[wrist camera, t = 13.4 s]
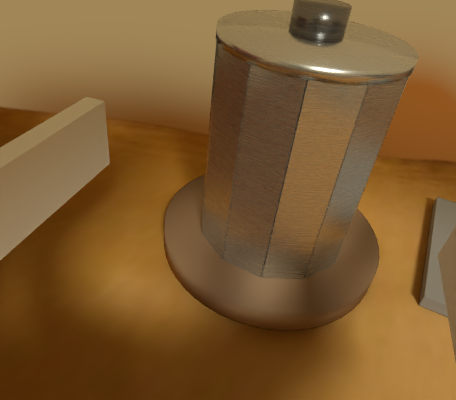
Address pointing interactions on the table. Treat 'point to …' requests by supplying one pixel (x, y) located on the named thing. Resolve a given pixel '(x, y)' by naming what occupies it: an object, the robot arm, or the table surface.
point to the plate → (265, 287)
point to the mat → (439, 232)
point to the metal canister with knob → (295, 133)
